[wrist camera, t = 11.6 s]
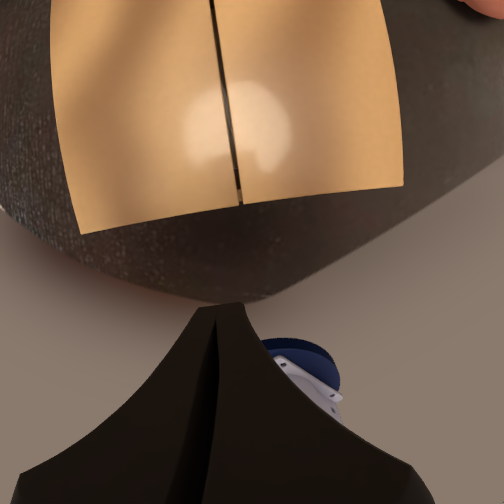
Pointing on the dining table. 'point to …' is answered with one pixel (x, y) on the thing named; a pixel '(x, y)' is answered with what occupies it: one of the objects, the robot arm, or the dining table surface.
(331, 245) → the dining table surface
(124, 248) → the dining table surface
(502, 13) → the teapot
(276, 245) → the dining table surface
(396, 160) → the flap
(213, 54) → the wooden box
